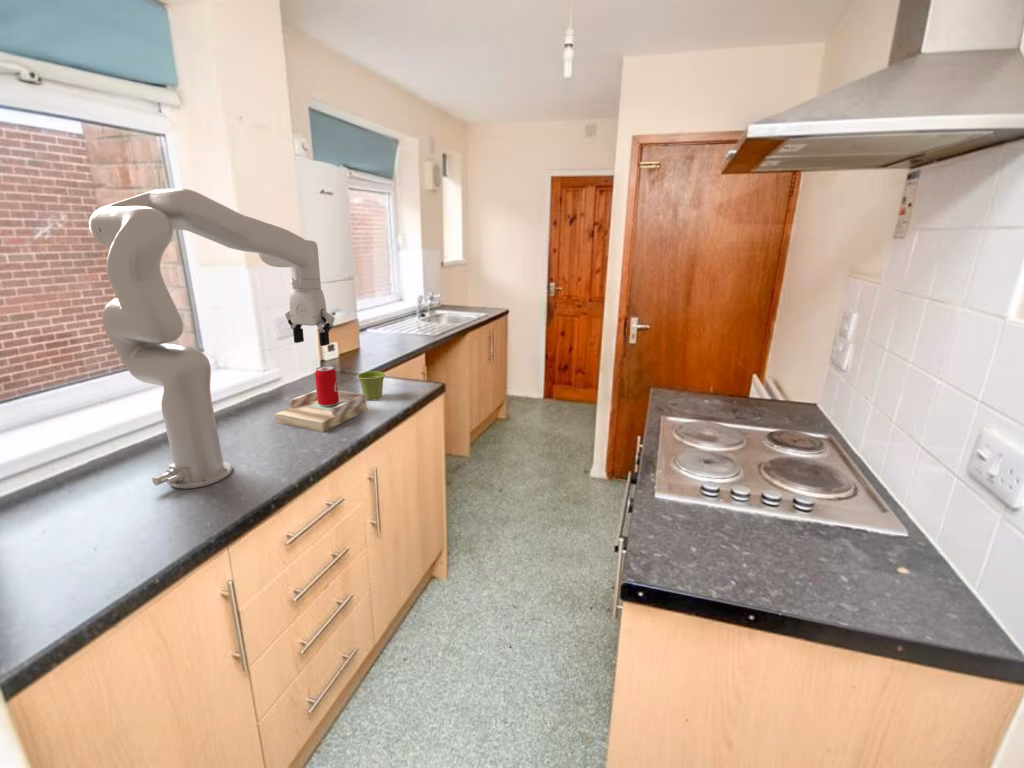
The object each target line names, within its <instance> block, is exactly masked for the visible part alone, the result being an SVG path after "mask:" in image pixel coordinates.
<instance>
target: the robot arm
mask: <svg viewBox="0 0 1024 768" xmlns="http://www.w3.org/2000/svg"><path fill="white" fill-rule="evenodd" d="M88 225H89V226H88V227H89V230H90V233H91V236H93V238H94V239H95V240H96V241H97V242H98V243H99V244H101V245H103V246H104V247H106V248H108V249H109V251H108V253H107V259H106V265H105V266H106V277H107V278H108V279H107V280H108V281H109V284H110V286H111V289H112V290H113V292H114V295H115V297H116V298H114V299H112V300H111V301H109V302H108V303H107V304H106V305H105V307H104V309H103V312H102V318H101V319H102V326H103V328H104V332H105V333H106V335H107V337H108V339H109V340H110V343H111V344H112V346H113V347H114V349H115V351H116V352H117V354H118V357H120V359H121V361H122V363H123V364H124V366H125V368H126V369H127V370H128V372H129V373H130V374H131V376H133V377H134V378H135V379H136V380H139V381H140V382H143V383H147V384H151V385H156V386H161V387H163V394H162V399H161V413H162V418H163V421H164V426H165V429H166V435H167V440H168V444H169V449H170V453H171V454H170V455H171V457H172V463H171V464H168V468H169V469H168V470H166V471H165V472H164V473H162V474H161V473H160V474H158V475H157V476H154V477H153V478H152V479H151V480H152V483H153V485H154V486H160V485H161V484H164V483H167V485H170V486H171V487H173V488H177V489H194V488H196V489H197V488H203V487H206V486H209V485H212V484H215V483H217V482H220V481H222V480H223V479H225V478H227V477H228V476H229V475H230V474H231V473H232V470H233V467H232V464H231V463H230V462H229V461H227V460H223V454H222V450H221V444H220V438H219V431H218V427H217V423H216V416H215V411H214V407H213V401H212V391H211V378H212V377H211V376H212V368H211V363H210V360H209V359H208V357H207V356H206V354H204V352H203V351H200V350H199V349H198V348H196V347H192V346H189V345H184V344H177V343H176V344H174V343H173V342H175V341H177V340H178V339H180V337H181V336H182V334H183V332H184V323H183V320H182V316H181V315H180V313H179V311H178V308H177V306H176V304H175V301H174V299H173V298H172V296H171V294H170V292H169V290H168V288H167V285H166V284H165V281H164V278H163V276H162V270H161V262H162V258H163V255H164V253H165V251H166V249H167V248H168V247H169V245H170V243H171V242H172V239H173V235H174V231H180V230H181V231H182V230H183V231H188V232H190V233H192V234H195V235H197V236H199V237H202V238H205V239H208V240H210V241H213V242H214V243H217V244H220V245H222V246H225V247H226V248H228V249H232V250H237V251H241V252H247V253H256V254H258V256H259V258H260V260H261V261H262V262H263V263H265V264H266V265H268V266H270V267H276V268H290V270H291V271H290V273H291V281H290V284H291V285H292V289H290V293H289V311H287V312H286V313H285V314H284V315H285V318H286V319H287V323H288V324H289V326H290V329H291V330H292V332H293V334H292V335H293V342H294V344H299V343H303V342H304V341H305V338H304V328H302V326H310V327H312V326H316V327H317V328H318V329H319V331H320V332H318V336H319V337H318V338H319V346H320V347H324V346H328V345H330V335H329V333H330V331H331V329H332V328H333V326H334V322H335V320H336V319H335V317H334V316H333V315H332V314H330V313H329V312H327V311H328V309H327V304H326V300H325V295H324V292H323V291H324V290H322V283H321V271H320V269H321V268H320V259H319V257H320V256H319V248H318V244H317V242H316V241H314V240H307V239H305V238H303V237H301V236H300V235H299V234H295V233H294V232H291V231H290V230H288V229H285V228H283V227H281V226H277V225H275V224H271V223H269V222H268V223H267V222H265V221H262V220H260V219H256V218H253V217H250V216H247V215H245V214H241V213H239V212H238V211H236V210H233V209H231V208H230V207H227V206H226V205H224V204H221V203H220V202H217V201H215V200H213V199H211V198H209V197H208V196H205V195H203V194H202V193H199V192H197V191H196V190H192V189H187V188H162V189H159V188H158V189H154V190H149V191H147V192H144V193H141V194H138V195H135V196H132V197H129V198H126V199H123V200H122V199H121V200H120V201H116V202H114V203H110V204H107V205H104V206H101V207H99V208H98V209H96V210H95V211H94V212H93V213H92V214H91V216H90V217H89V221H88Z"/></svg>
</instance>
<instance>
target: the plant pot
mask: <svg viewBox="0 0 1024 768" xmlns="http://www.w3.org/2000/svg"><path fill="white" fill-rule="evenodd" d="M385 376H386V373H384V372H383V371H377V370H376V371H373V370H372V371H366V372H365V371H364V372H362V373H358V374H357V376H356V378H357V379H358V381H359V382H360V387H361V390H362V394H365V395H366V401H369V400H372V401H374V400H375V401H379V400H380V398H381V399H382V398H383V389H384V388H383V386H384V379H385ZM378 399H379V400H378Z"/></svg>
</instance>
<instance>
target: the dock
mask: <svg viewBox="0 0 1024 768" xmlns="http://www.w3.org/2000/svg"><path fill="white" fill-rule="evenodd" d="M338 397H339V402H338V403H337V404H336V405H334V406H328V407H325V406H321V405H320V404H318V397H317V389H315V390H312V391H310V392H307V393H305V394H302V395H300V396H296V397H294V398H292V399H290V400H288V407H289V408H286V409H283V410H281V411H279V412H276V413H275V414H274V415H275V422H276V424H280V425H285V426H289V427H294V428H295V427H296V428H300V429H303V430H304V429H305V430H308V431H309V430H311V431H314V432H319V433H320V432H321V433H324V432H326V431H329V430H330V429H332V428H334V427H336V426H338V425H340V424H342V423H344V422H346V421H348V419H349V420H350V418H351V419H352V417H353V418H355V417H356V416H358V415H359V416H360V415H361V414H363V413H365V412H367V411H366V410H368V409H367V408H368V406H367V400H366V395H365V394H363V393H357V392H351V391H346V390H340V389H338ZM364 411H365V412H364ZM354 416H355V417H354Z"/></svg>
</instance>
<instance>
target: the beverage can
mask: <svg viewBox="0 0 1024 768" xmlns="http://www.w3.org/2000/svg"><path fill="white" fill-rule="evenodd" d="M314 379H315V385H316V390H317V397H318V404H320V405H321V406H325V407H328V406H334V405H336V404H337V403H338V402H339V397H338V390H339V389H338V388H339V387H338V378H337V372H336V370H335V367H334V366H331V365H330V366H329V365H326V366H325V365H324V366H319V367H316V368H315V372H314Z"/></svg>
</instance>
